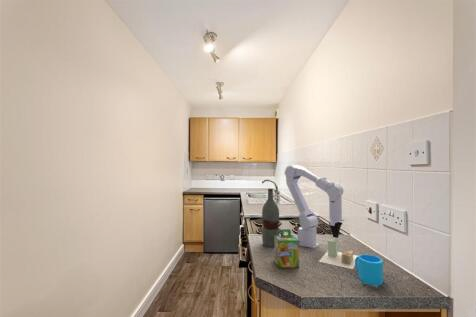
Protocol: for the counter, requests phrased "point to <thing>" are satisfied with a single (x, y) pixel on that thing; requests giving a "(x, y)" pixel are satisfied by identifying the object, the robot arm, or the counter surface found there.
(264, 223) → the bottle
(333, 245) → the sage block
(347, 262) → the oak block
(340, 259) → the mat
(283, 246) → the chalk box
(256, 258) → the counter surface
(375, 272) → the mug
